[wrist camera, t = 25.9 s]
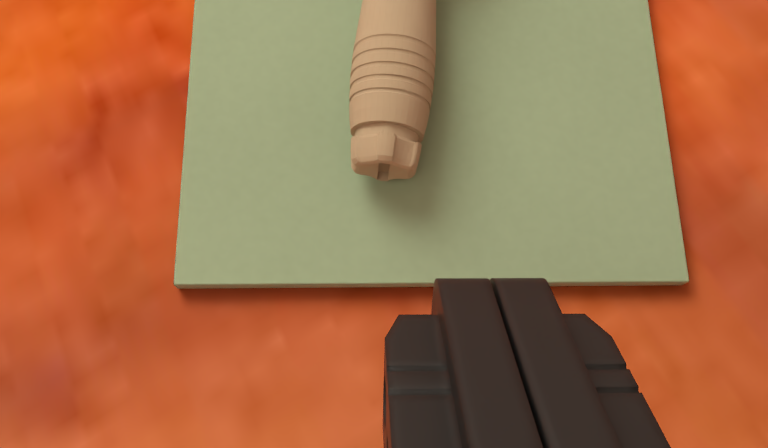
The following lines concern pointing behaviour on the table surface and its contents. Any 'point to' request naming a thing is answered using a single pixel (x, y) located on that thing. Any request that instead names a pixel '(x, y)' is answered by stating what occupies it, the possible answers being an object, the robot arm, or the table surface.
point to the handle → (391, 86)
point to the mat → (429, 152)
